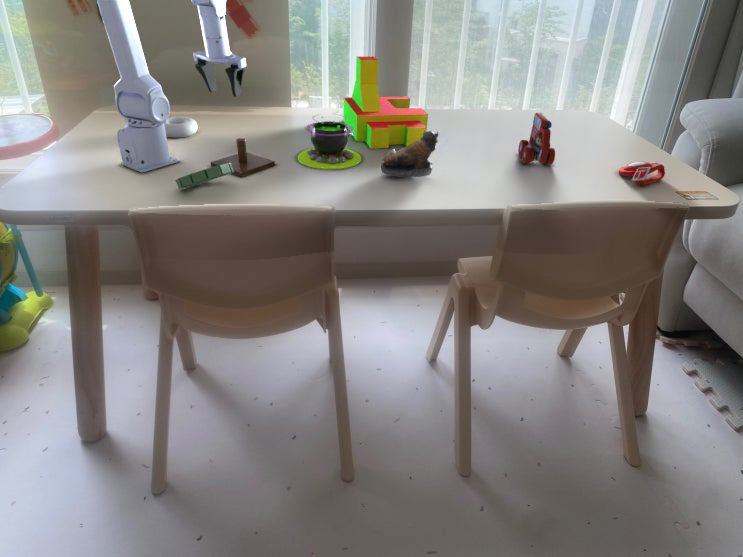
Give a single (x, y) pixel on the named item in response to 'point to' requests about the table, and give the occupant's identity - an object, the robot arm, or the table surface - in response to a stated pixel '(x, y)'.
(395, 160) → the brown cat figurine
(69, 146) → the table surface
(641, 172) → the tracker holder
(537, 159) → the toy fire truck
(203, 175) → the ring
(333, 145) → the toy cauldron
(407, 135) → the building blocks toy
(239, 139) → the post
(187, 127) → the donut
